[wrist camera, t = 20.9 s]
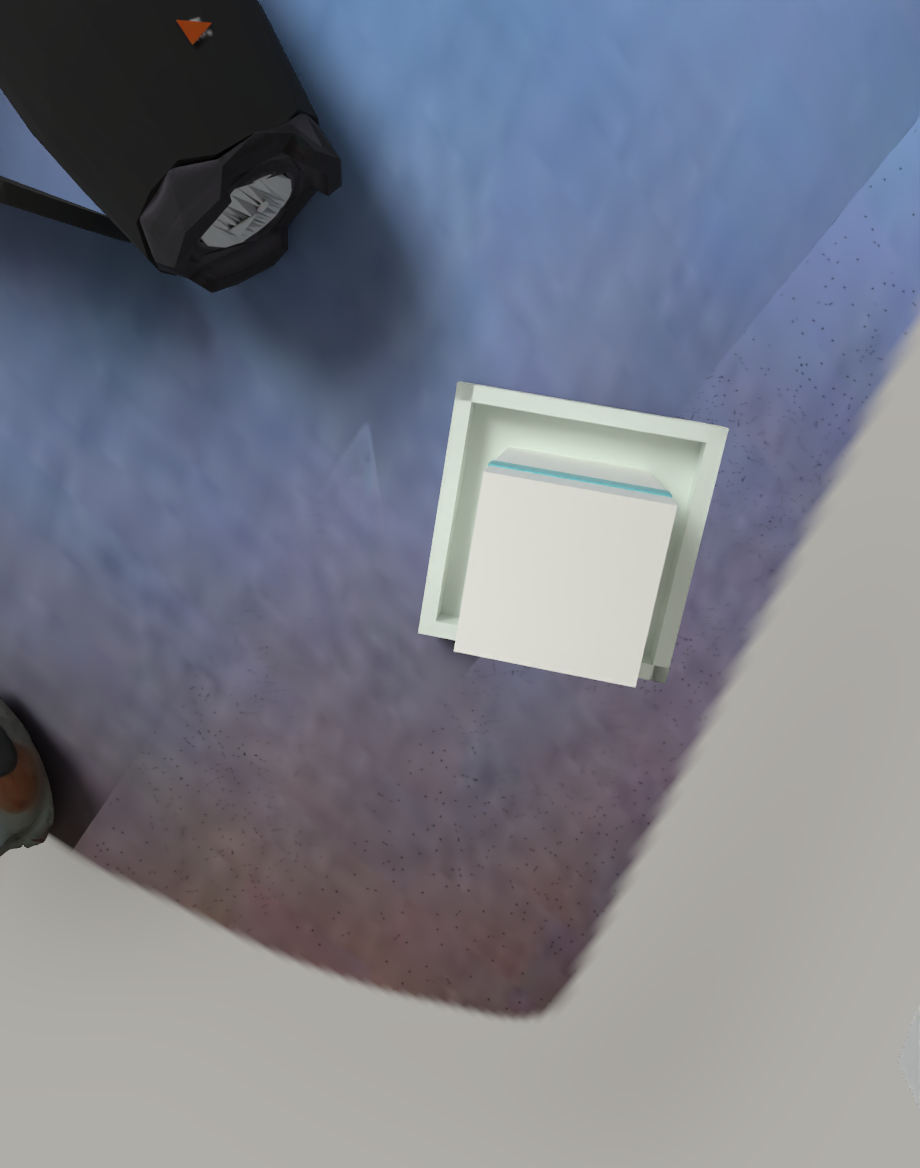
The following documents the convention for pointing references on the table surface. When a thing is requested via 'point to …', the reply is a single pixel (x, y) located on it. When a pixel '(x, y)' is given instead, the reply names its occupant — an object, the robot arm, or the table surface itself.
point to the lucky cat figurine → (21, 787)
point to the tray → (577, 430)
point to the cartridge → (565, 565)
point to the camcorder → (57, 209)
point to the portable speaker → (172, 124)
